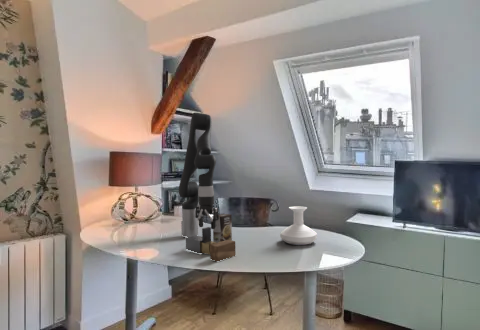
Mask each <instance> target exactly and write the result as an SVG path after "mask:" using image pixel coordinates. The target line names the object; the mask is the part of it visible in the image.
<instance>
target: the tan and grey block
mask: <svg viewBox="0 0 480 330" xmlns="http://www.w3.org/2000/svg"><path fill="white" fill-rule="evenodd" d="M201 237H202V242H201V253H205V255H208V256H210V245H212V244H215V243H216V242H213V241H212V229H211V226H206V227H203V228H202V227H201Z"/></svg>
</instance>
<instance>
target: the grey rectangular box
mask: <svg viewBox="0 0 480 330" xmlns="http://www.w3.org/2000/svg"><path fill="white" fill-rule="evenodd" d="M201 242H202V235H201V236H200V235H198V236H192V237H188V238H185V250H186V249H188V250H191V251H194V252H197V253H201Z"/></svg>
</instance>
